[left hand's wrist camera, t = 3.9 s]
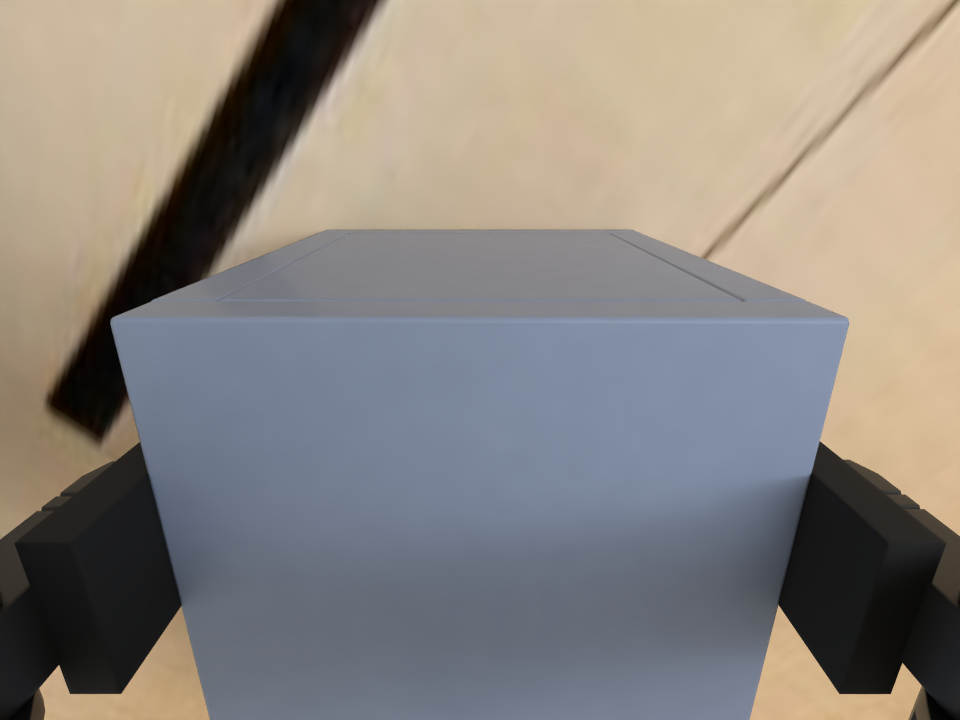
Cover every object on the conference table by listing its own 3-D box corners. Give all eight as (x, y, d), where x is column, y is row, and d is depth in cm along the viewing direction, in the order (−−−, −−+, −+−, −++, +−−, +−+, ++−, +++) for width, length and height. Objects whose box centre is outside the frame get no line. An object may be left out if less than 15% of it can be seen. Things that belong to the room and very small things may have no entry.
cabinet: (595, 616, 24) (687, 972, 13) (363, 616, 24) (272, 973, 13) (633, 229, 18) (853, 317, 7) (325, 229, 18) (105, 317, 7)
